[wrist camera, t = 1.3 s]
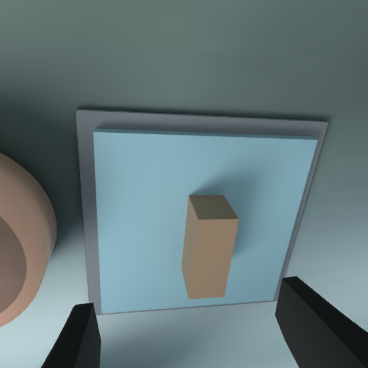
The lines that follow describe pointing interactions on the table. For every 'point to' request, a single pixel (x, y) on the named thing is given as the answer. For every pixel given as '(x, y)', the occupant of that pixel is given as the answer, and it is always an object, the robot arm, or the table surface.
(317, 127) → the mat
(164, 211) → the lid
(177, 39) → the table surface
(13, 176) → the bowl
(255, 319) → the table surface
